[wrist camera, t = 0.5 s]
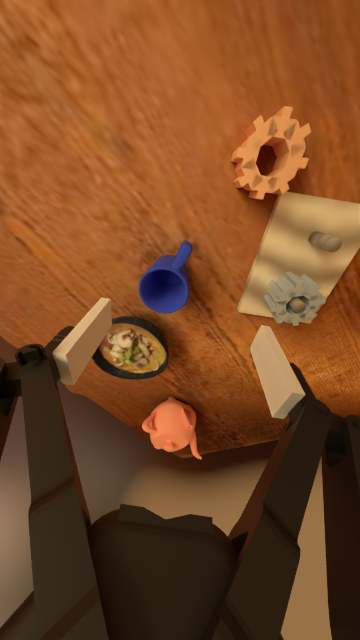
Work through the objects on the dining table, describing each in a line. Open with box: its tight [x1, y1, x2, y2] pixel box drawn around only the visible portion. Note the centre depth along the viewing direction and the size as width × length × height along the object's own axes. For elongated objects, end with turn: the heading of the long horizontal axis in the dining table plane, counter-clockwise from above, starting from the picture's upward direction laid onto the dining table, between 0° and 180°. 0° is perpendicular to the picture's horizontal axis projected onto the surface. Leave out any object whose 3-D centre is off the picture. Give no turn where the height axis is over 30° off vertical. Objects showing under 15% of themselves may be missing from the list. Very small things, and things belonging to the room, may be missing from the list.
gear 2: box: [263, 271, 326, 326], centre depth 36 cm, size 9×9×5 cm
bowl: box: [92, 316, 169, 379], centre depth 45 cm, size 17×17×10 cm
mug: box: [139, 241, 192, 313], centre depth 34 cm, size 8×12×10 cm
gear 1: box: [231, 106, 311, 200], centre depth 26 cm, size 9×9×5 cm
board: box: [237, 192, 360, 323], centre depth 34 cm, size 22×16×7 cm
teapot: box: [142, 396, 202, 459], centre depth 61 cm, size 16×17×14 cm
